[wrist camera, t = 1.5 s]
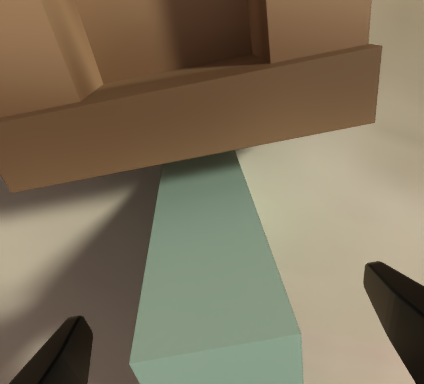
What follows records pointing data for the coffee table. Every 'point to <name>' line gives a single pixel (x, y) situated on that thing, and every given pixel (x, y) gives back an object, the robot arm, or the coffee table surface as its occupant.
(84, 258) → the coffee table surface
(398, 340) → the robot arm
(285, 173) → the coffee table surface
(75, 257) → the coffee table surface
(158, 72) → the track
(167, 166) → the pale green block
